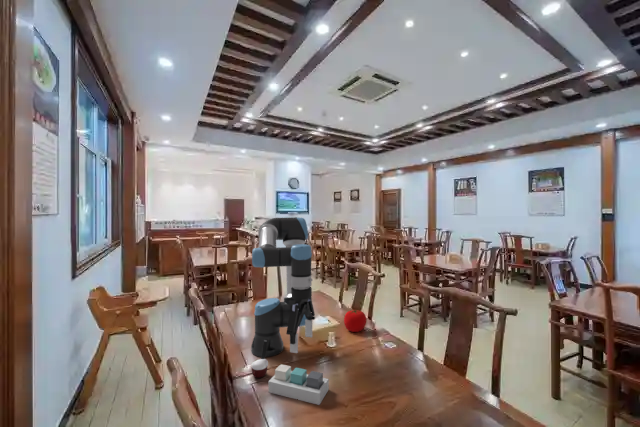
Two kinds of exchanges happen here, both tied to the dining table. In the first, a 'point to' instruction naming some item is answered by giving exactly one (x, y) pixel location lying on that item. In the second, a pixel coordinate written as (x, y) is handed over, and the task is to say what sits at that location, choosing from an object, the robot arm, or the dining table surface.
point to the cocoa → (260, 364)
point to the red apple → (355, 320)
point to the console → (298, 390)
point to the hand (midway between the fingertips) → (301, 344)
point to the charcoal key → (315, 380)
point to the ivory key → (283, 372)
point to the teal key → (299, 376)
